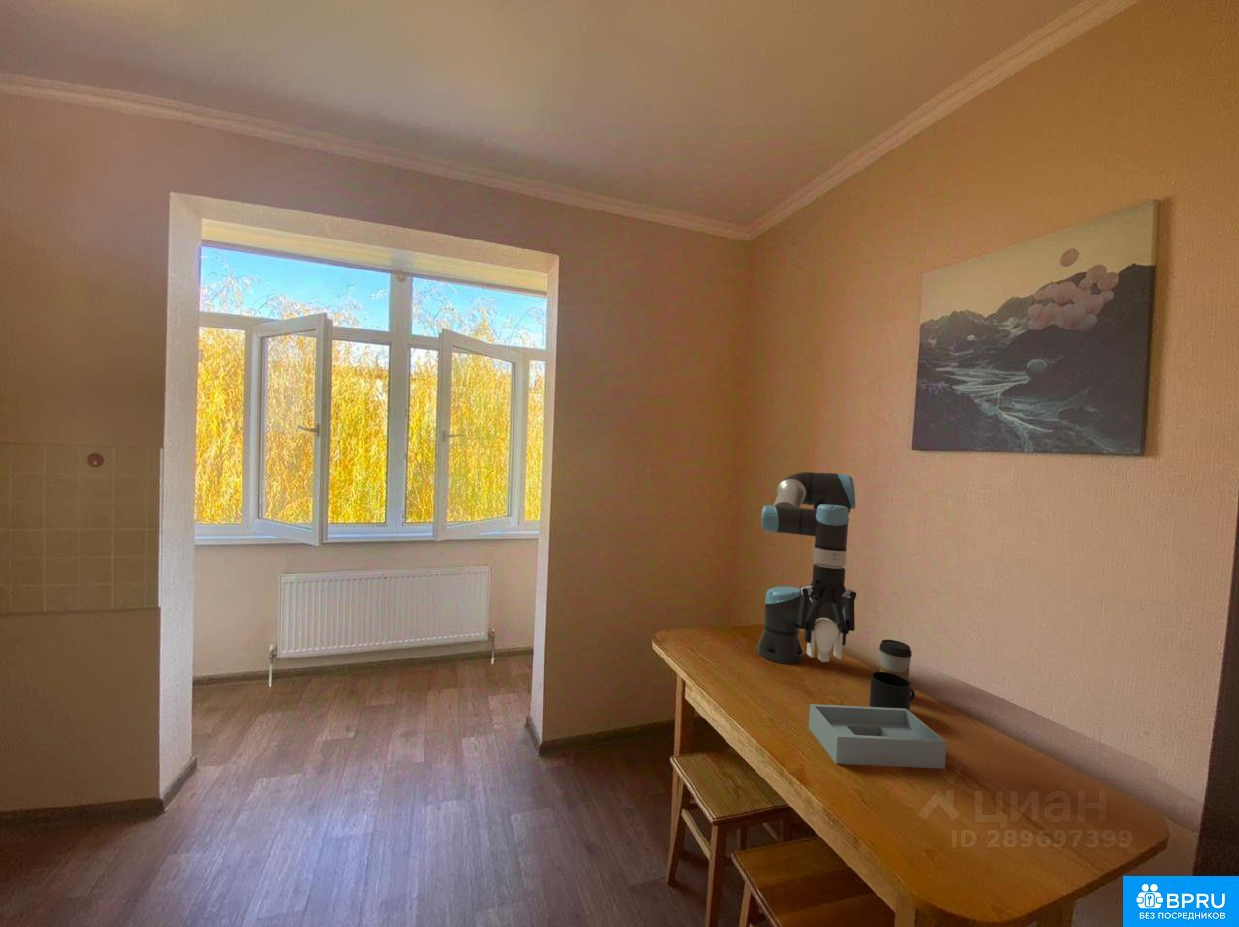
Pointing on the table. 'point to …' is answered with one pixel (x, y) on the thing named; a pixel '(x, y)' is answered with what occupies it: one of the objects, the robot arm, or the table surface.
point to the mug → (890, 691)
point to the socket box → (876, 736)
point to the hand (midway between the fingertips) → (823, 656)
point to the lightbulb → (825, 637)
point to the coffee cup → (895, 658)
